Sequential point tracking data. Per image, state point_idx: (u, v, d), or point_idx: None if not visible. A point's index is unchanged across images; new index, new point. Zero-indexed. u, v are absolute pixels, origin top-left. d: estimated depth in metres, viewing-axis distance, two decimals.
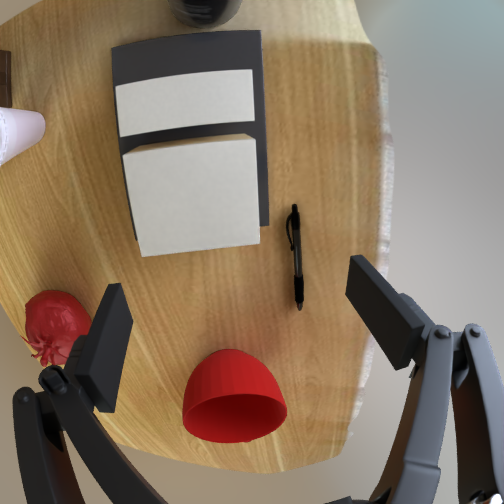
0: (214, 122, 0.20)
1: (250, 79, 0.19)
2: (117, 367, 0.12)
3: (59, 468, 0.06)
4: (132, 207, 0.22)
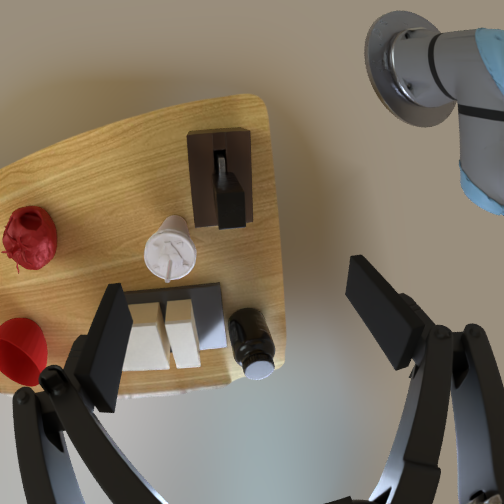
0: (174, 357, 0.45)
1: (195, 366, 0.47)
2: (117, 367, 0.12)
3: (58, 468, 0.06)
4: None
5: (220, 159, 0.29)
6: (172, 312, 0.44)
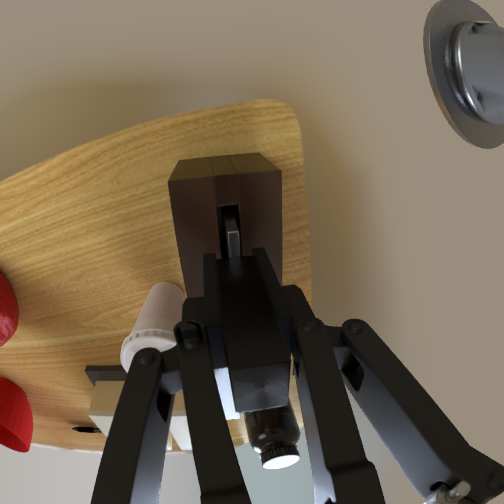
0: (177, 442, 0.32)
1: None
2: None
3: (154, 438, 0.08)
4: None
5: (230, 234, 0.16)
6: None
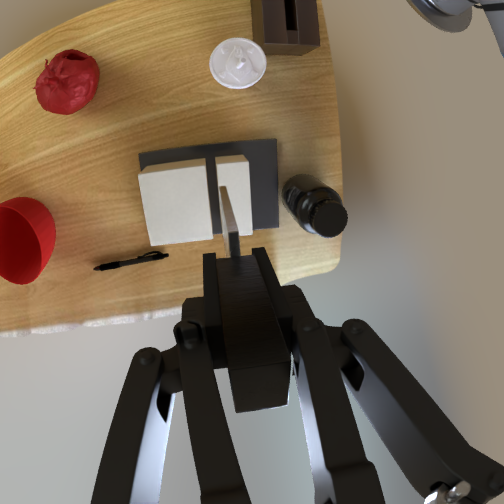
0: None
1: (246, 234, 0.40)
2: None
3: (154, 438, 0.08)
4: (171, 170, 0.35)
5: (230, 233, 0.16)
6: (224, 159, 0.38)
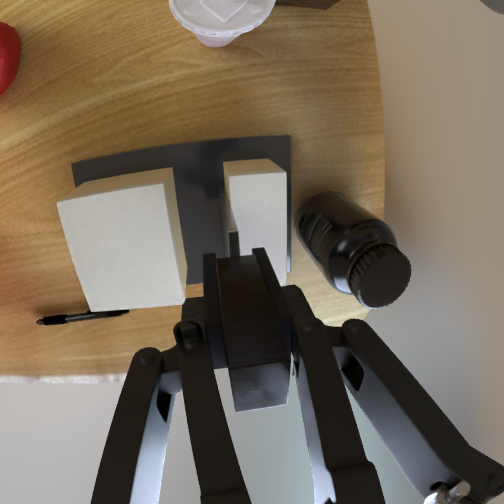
0: None
1: None
2: None
3: (154, 438, 0.08)
4: (106, 194, 0.19)
5: (230, 233, 0.16)
6: (240, 167, 0.22)
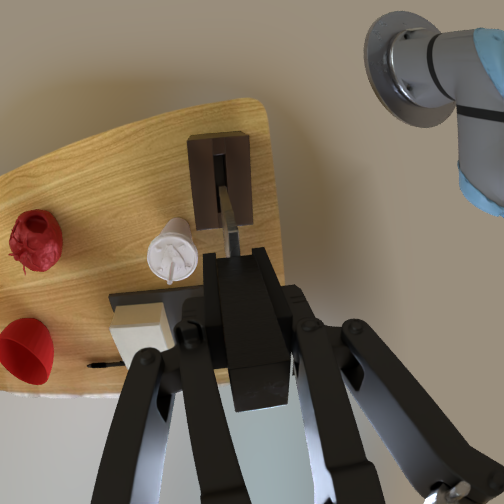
0: None
1: None
2: None
3: (154, 438, 0.08)
4: (134, 327, 0.42)
5: (230, 233, 0.16)
6: None
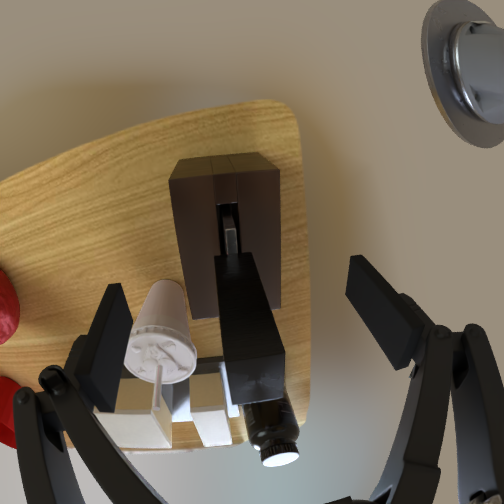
0: (201, 438, 0.33)
1: (226, 444, 0.35)
2: (117, 367, 0.12)
3: (58, 467, 0.06)
4: (119, 414, 0.29)
5: (228, 231, 0.16)
6: (198, 394, 0.32)
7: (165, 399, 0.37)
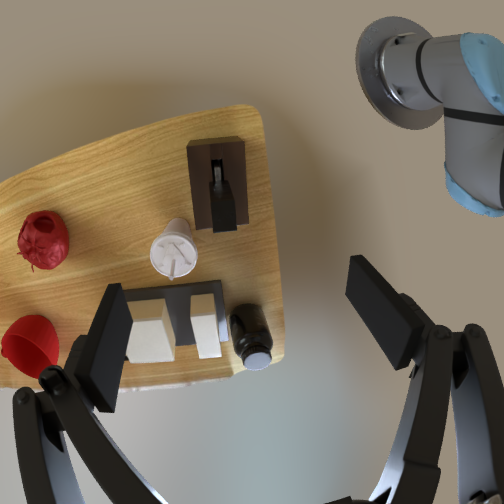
0: (197, 347, 0.49)
1: (217, 356, 0.51)
2: (117, 367, 0.12)
3: (58, 468, 0.06)
4: (137, 322, 0.45)
5: (216, 168, 0.32)
6: (197, 306, 0.48)
7: (171, 320, 0.53)
